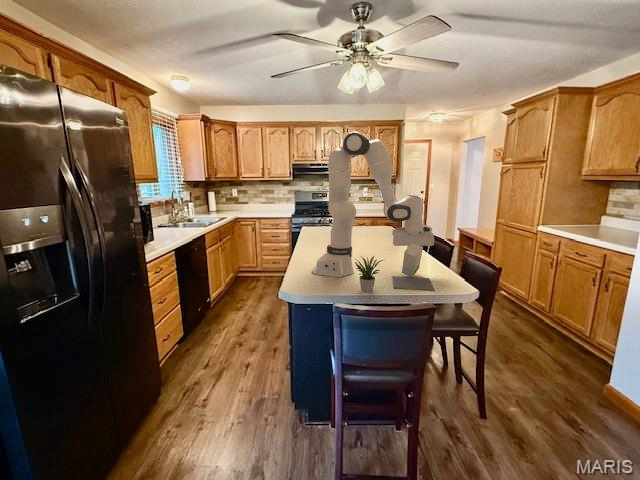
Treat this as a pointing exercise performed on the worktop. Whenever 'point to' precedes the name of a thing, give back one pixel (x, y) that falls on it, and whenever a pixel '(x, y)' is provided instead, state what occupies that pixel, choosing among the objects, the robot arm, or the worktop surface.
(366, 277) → the house plant
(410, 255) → the skincare box
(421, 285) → the mat
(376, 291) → the worktop surface
